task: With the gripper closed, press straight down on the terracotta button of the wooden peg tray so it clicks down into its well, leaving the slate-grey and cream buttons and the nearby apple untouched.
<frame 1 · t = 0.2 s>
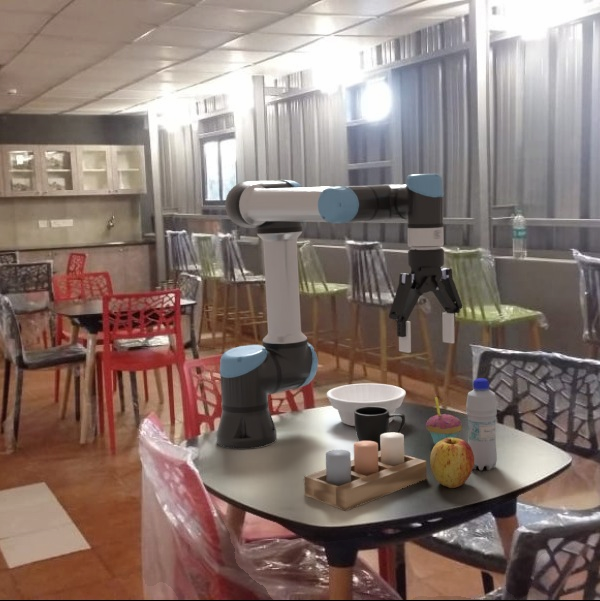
hand: (427, 347, 176), 28 cm above the table, fingers open, 13 cm apart
cupcake: (444, 444, 199), on the table
bottle: (482, 468, 181), on the table
terracotta button: (366, 458, 171), point 6 cm above the table, slide at 0.0 cm
bowl: (366, 422, 220), on the table
mug: (380, 450, 196), on the table
apple: (452, 485, 171), on the table
slate button: (338, 467, 166), point 6 cm above the table, slide at 0.0 cm
wooden peg tray: (366, 486, 172), on the table
cream button: (392, 449, 176), point 6 cm above the table, slide at 0.0 cm
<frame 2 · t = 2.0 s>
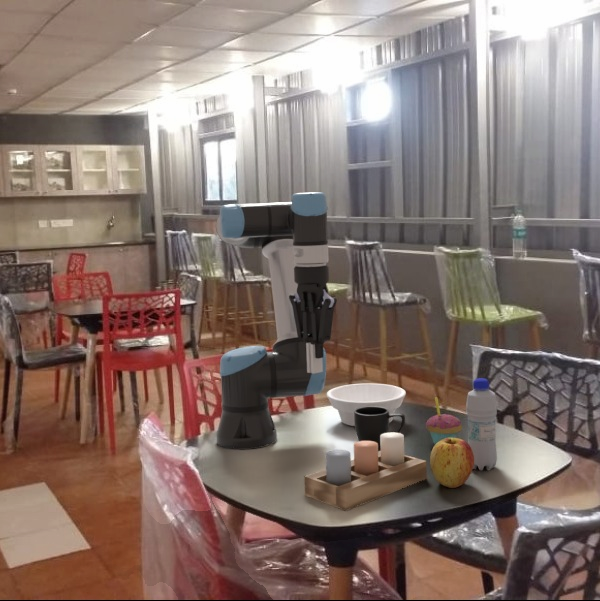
hand: (315, 371, 180), 22 cm above the table, fingers closed
nothing on the table moved.
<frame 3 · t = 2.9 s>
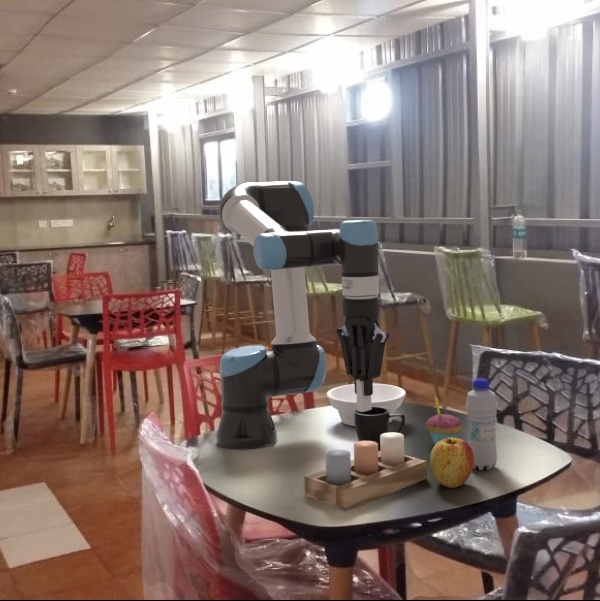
hand: (364, 410, 169), 17 cm above the table, fingers closed
nothing on the table moved.
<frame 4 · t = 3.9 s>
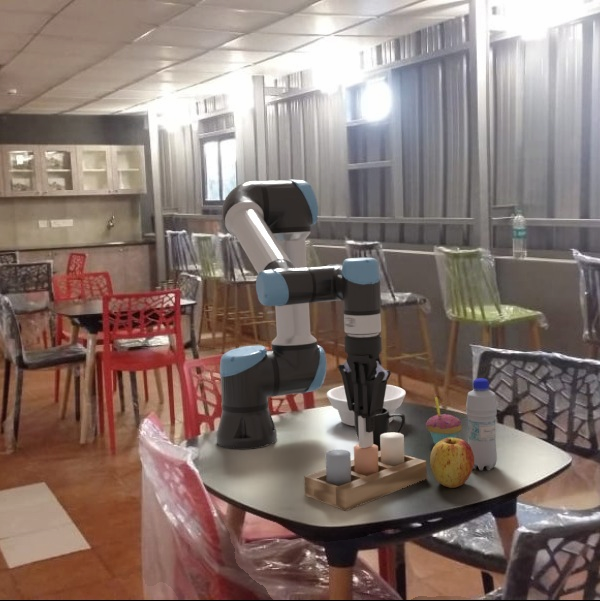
hand: (366, 446, 170), 9 cm above the table, fingers closed
terracotta button: (366, 461, 171), point 6 cm above the table, slide at 0.6 cm, touching gripper
everything else where it was.
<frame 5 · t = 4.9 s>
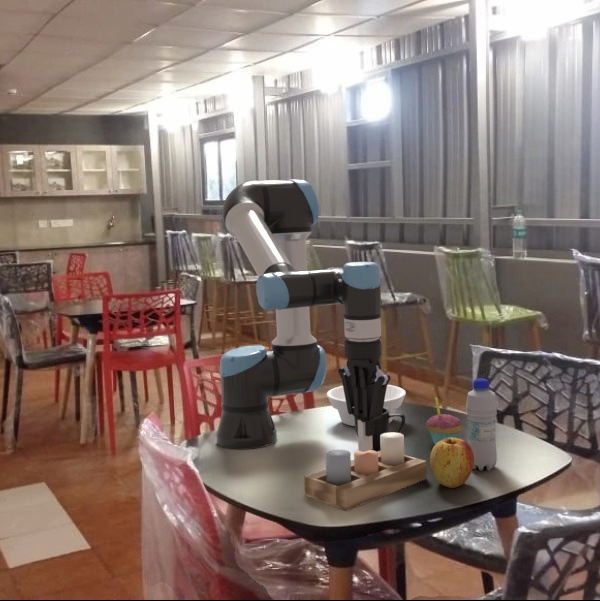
hand: (365, 449, 171), 8 cm above the table, fingers closed
terracotta button: (366, 467, 171), point 4 cm above the table, slide at 2.0 cm
everything else where it was.
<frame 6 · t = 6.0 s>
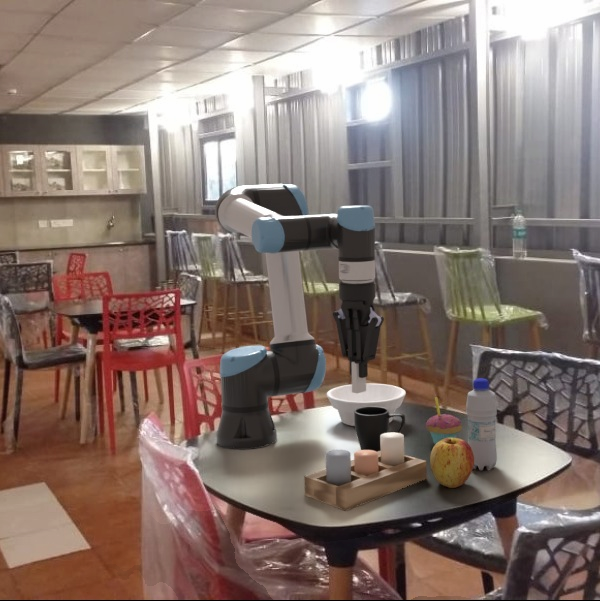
hand: (359, 391, 173), 19 cm above the table, fingers closed
nothing on the table moved.
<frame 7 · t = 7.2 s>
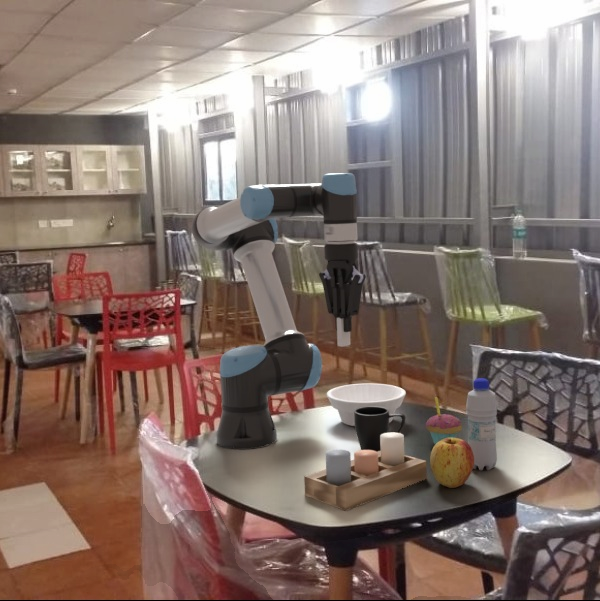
hand: (344, 345, 188), 26 cm above the table, fingers closed
nothing on the table moved.
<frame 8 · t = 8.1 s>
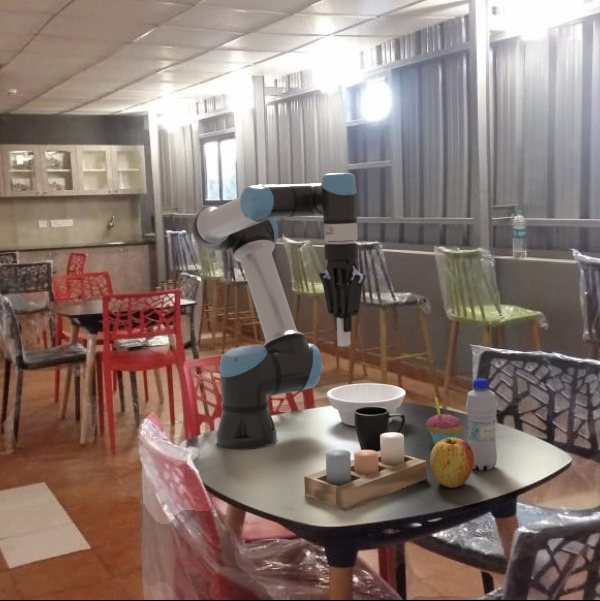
hand: (344, 345, 188), 26 cm above the table, fingers closed
nothing on the table moved.
at the end: terracotta button slide at 2.0 cm; slate button slide at 0.0 cm; cream button slide at 0.0 cm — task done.
